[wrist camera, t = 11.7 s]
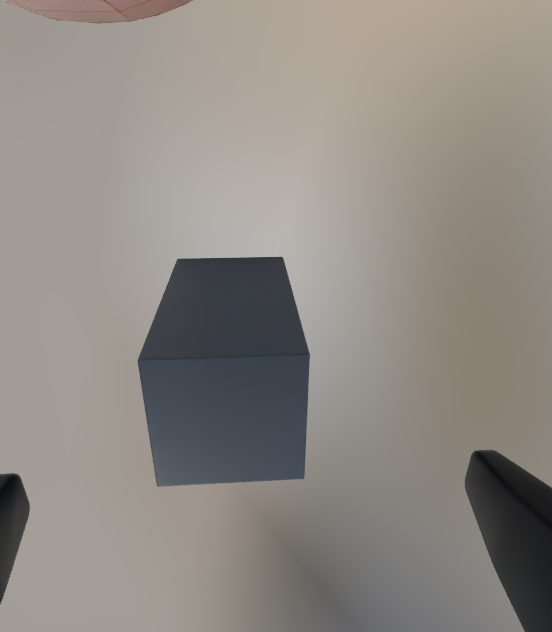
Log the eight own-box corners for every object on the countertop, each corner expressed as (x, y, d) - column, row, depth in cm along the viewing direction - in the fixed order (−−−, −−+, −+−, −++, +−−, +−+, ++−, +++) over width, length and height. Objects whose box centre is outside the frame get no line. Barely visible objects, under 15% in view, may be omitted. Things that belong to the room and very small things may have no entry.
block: (282, 256, 19) (309, 354, 11) (281, 347, 21) (304, 479, 13) (177, 258, 18) (137, 360, 11) (186, 350, 20) (156, 487, 13)
